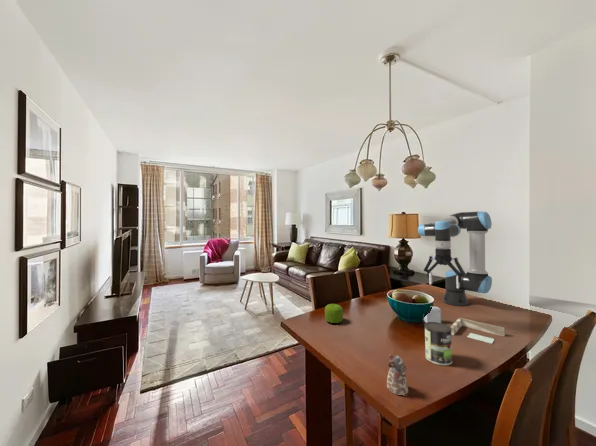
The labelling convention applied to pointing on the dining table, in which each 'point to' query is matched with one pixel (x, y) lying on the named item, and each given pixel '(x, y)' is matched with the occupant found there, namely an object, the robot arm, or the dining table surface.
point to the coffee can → (438, 343)
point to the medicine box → (433, 315)
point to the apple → (333, 313)
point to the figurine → (397, 376)
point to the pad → (481, 338)
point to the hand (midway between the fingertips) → (443, 286)
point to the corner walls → (477, 327)
